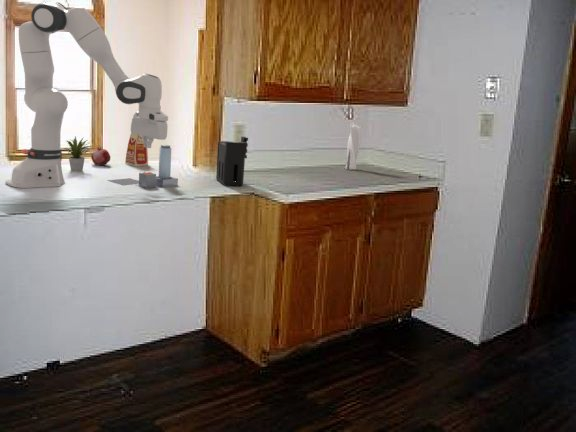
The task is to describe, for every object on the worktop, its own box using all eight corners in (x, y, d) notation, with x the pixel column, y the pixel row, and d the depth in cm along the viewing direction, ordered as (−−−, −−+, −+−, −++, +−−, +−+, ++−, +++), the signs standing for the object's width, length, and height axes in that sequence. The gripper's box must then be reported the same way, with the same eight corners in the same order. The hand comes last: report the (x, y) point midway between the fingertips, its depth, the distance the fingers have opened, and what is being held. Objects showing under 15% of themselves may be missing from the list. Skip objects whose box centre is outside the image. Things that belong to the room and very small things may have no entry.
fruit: (109, 163, 304) (109, 144, 302) (111, 166, 296) (111, 147, 294) (90, 163, 301) (90, 143, 299) (91, 166, 292) (92, 146, 290)
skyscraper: (341, 167, 360) (346, 121, 354) (353, 168, 363) (358, 122, 356) (346, 170, 352) (352, 122, 346) (359, 170, 355) (364, 123, 348)
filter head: (148, 191, 246) (149, 175, 245) (134, 187, 252) (134, 171, 251) (178, 187, 258) (179, 173, 257) (164, 183, 264) (164, 169, 263)
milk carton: (135, 166, 304) (136, 127, 300) (124, 163, 309) (125, 124, 305) (149, 164, 311) (150, 126, 307) (138, 162, 317) (139, 124, 312)
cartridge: (163, 185, 255) (164, 146, 251) (156, 183, 258) (157, 145, 254) (172, 184, 258) (173, 146, 255) (165, 182, 262) (166, 144, 258)
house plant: (82, 175, 269) (82, 139, 265) (54, 171, 271) (54, 136, 267) (97, 170, 282) (97, 136, 279) (70, 167, 284) (70, 133, 281)
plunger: (146, 178, 248) (146, 173, 248) (142, 176, 250) (142, 172, 250) (152, 177, 251) (153, 172, 250) (148, 176, 253) (148, 171, 252)
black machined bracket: (224, 186, 270) (227, 138, 265) (213, 178, 288) (216, 133, 283) (249, 187, 274) (252, 139, 269) (236, 178, 293) (239, 134, 288)
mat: (122, 187, 249) (122, 185, 249) (106, 182, 256) (106, 180, 256) (146, 185, 258) (146, 182, 258) (129, 180, 266) (129, 178, 265)
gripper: (127, 111, 249) (126, 144, 251) (158, 116, 236) (156, 151, 239) (140, 111, 253) (138, 144, 256) (170, 117, 241) (168, 151, 244)
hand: (147, 147), depth 247 cm, fingers closed
